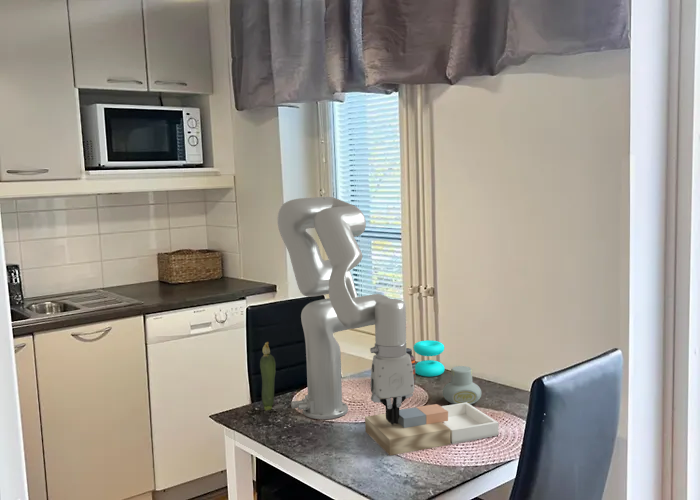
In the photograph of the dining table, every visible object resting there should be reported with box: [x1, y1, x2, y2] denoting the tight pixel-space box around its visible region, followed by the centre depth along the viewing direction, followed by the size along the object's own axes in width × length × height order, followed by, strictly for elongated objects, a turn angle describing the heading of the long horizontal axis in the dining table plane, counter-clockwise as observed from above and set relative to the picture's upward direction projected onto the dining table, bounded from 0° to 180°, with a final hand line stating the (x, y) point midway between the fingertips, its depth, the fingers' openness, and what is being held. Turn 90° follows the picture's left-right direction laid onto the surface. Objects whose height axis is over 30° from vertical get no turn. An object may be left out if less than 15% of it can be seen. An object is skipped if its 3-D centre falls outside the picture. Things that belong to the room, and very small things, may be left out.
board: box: [364, 412, 451, 456], centre depth 174 cm, size 16×16×4 cm
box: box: [440, 402, 500, 445], centre depth 179 cm, size 13×16×4 cm
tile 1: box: [398, 406, 426, 428], centre depth 174 cm, size 6×6×2 cm
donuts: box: [413, 339, 446, 378], centre depth 226 cm, size 10×10×10 cm
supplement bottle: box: [406, 347, 416, 386], centre depth 214 cm, size 6×6×11 cm
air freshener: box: [442, 365, 482, 405], centre depth 198 cm, size 11×8×10 cm
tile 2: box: [415, 403, 448, 424], centre depth 176 cm, size 6×6×2 cm
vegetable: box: [259, 341, 277, 412], centre depth 195 cm, size 4×4×20 cm
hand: (392, 422), depth 172 cm, fingers closed
